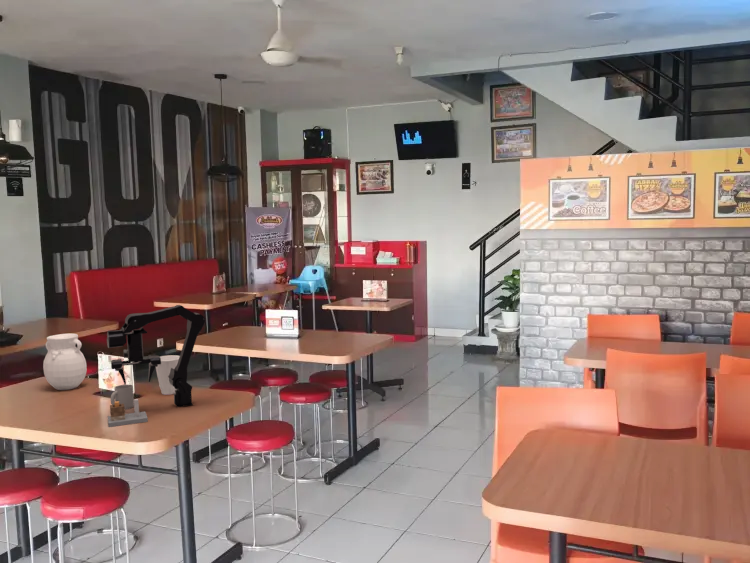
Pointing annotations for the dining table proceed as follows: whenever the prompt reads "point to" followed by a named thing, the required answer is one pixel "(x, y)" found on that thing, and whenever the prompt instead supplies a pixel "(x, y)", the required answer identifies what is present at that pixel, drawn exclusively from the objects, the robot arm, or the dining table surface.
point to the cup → (123, 396)
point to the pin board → (129, 416)
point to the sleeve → (117, 412)
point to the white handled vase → (64, 361)
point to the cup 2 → (166, 373)
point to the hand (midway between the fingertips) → (137, 383)
